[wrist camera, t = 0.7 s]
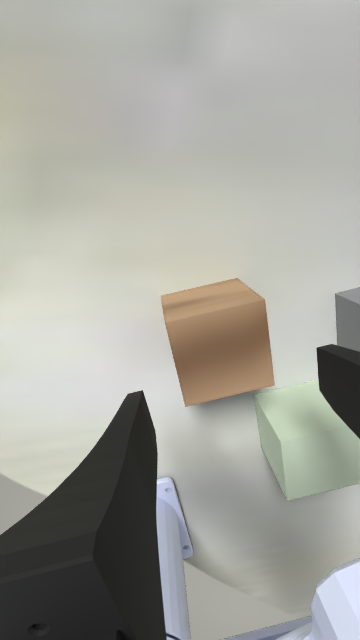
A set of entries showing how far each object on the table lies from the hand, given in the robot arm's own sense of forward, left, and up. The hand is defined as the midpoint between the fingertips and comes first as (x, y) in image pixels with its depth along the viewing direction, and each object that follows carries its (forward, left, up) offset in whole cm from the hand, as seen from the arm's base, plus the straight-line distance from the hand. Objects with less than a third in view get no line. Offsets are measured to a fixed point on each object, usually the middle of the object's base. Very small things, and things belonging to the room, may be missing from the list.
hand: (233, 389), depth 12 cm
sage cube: (-9, -5, -8) cm, 14 cm away
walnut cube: (0, 0, -8) cm, 9 cm away
